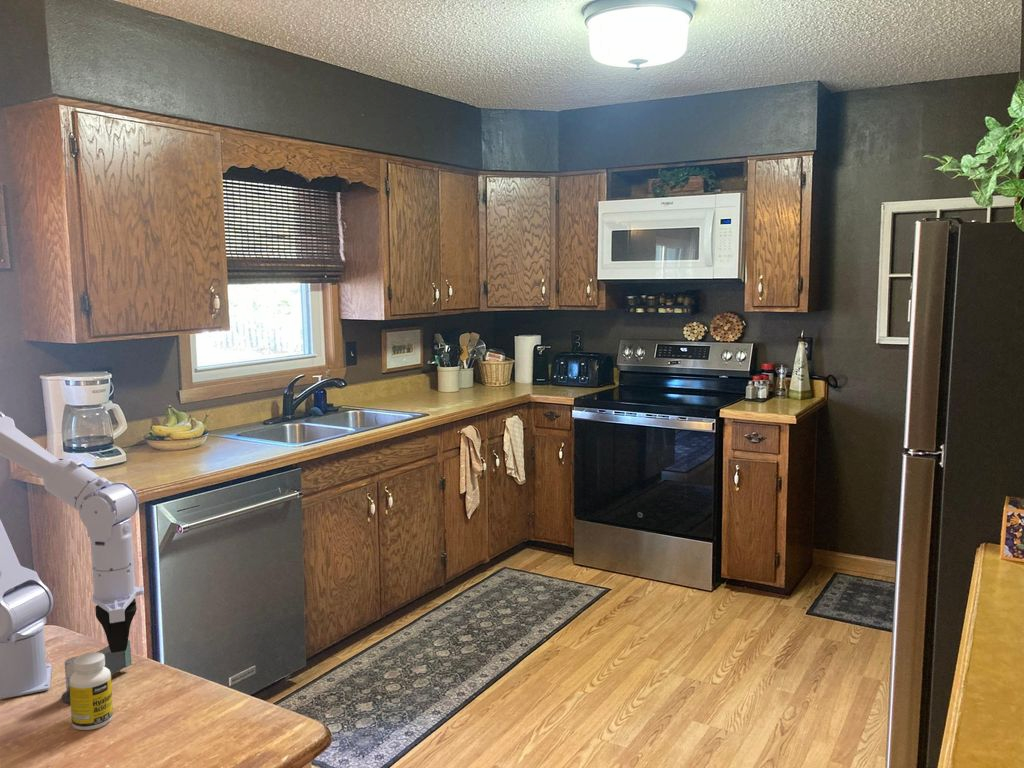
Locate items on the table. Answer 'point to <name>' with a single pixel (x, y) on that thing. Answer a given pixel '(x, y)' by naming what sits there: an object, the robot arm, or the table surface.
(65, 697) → the pivot base
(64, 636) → the table surface
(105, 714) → the supplement bottle
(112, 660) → the swing bar
